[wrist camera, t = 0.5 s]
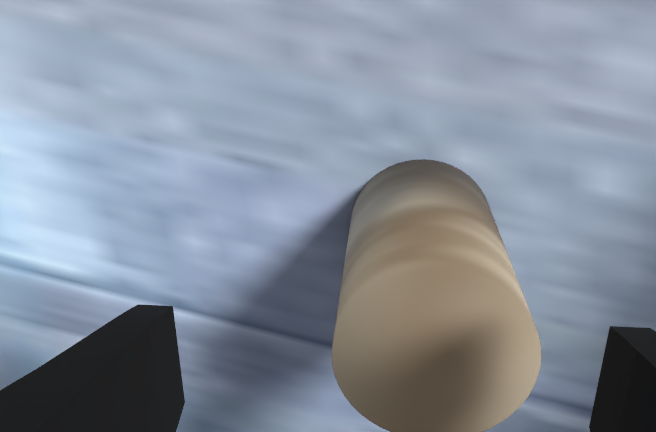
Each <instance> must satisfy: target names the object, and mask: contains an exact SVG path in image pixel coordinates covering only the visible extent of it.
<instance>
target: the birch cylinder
mask: <svg viewBox="0 0 656 432" xmlns="http://www.w3.org/2000/svg"><path fill="white" fill-rule="evenodd" d="M332 365H333V370H334V374H335V377H336V380H337V382H338V385H339V387H340V389H341V391H342V392H343V394H344V396H345V397H346V398H347V400H348V401H349V402H350V404H351V405H352V406H353V407H354V408H355V409H356V410H357V411H358V412H359V413H360V414H362V415H363V416H364V417H365V418H367V419H368V420H369V421H371V422H373V423H374V424H376V425H378V426H379V427H381V428H383V429H386V430H388V431H390V432H483V431H485V430H488V429H490V428H492V427H494V426H495V425H497V424H499V423H501V422H502V421H504V420H505V419H506V418H508V417H509V416H510V415H512V414H513V413H514V412H515V411H516V410H517V409H518V408H519V407H520V406H521V405H522V404H523V402H524V401H525V400H526V399H527V397H528V396H529V394H530V392H531V391H532V389H533V387H534V385H535V382H536V380H537V378H538V374H539V370H540V365H541V344H540V340H539V336H538V332H537V329H536V327H535V324H534V321H533V319H532V316H531V314H530V311H529V308H528V306H527V303H526V301H525V298H524V296H523V293H522V290H521V288H520V285H519V283H518V280H517V277H516V275H515V272H514V270H513V267H512V264H511V262H510V259H509V257H508V254H507V251H506V249H505V246H504V244H503V241H502V238H501V236H500V233H499V231H498V228H497V225H496V223H495V220H494V218H493V215H492V212H491V210H490V207H489V205H488V202H487V200H486V197H485V195H484V194H483V192H482V190H481V189H480V187H479V186H478V185H477V184H476V182H475V181H474V180H473V179H472V178H470V177H469V176H468V175H467V174H466V173H464V172H463V171H461V170H460V169H458V168H456V167H454V166H452V165H449V164H446V163H443V162H439V161H434V160H411V161H405V162H401V163H398V164H395V165H393V166H390V167H388V168H386V169H385V170H383V171H381V172H379V173H378V174H377V175H376V176H374V177H373V178H372V179H371V180H370V181H369V182H368V183H367V184H366V185H365V186H364V188H363V189H362V190H361V192H360V194H359V195H358V197H357V199H356V201H355V204H354V207H353V211H352V215H351V222H350V229H349V236H348V242H347V249H346V256H345V263H344V270H343V276H342V283H341V290H340V297H339V304H338V311H337V317H336V324H335V331H334V338H333V346H332Z"/></svg>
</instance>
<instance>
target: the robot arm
mask: <svg viewBox="0 0 656 432" xmlns="http://www.w3.org/2000/svg"><path fill="white" fill-rule="evenodd" d="M184 403H185V400H184V392H183V385H182V377H181V369H180V361H179V353H178V345H177V337H176V329H175V321H174V313H173V306H156V305H137V306H135V307H133V308H131V309H130V310H128V311H126V312H124V313H123V314H121V315H120V316H118V317H116V318H115V319H113V320H112V321H110V322H108V323H107V324H105V325H104V326H102V327H101V328H99V329H98V330H96V331H95V332H93V333H92V334H90V335H89V336H87V337H86V338H84V339H82V340H81V341H79V342H78V343H76V344H75V345H73V346H72V347H70V348H69V349H67V350H65V351H64V352H62V353H61V354H59V355H58V356H56V357H55V358H53V359H52V360H50V361H48V362H47V363H45V364H44V365H42V366H41V367H39V368H37V369H36V370H34V371H32V372H31V373H29V374H27V375H26V376H24V377H22V378H21V379H19V380H17V381H16V382H14V383H12V384H10V385H9V386H7V387H5V388H4V389H2V390H0V432H176V429H177V426H178V423H179V420H180V416H181V413H182V410H183V406H184ZM589 428H590V432H656V332H655V331H654V330H652V329H650V328H634V327H613V326H610V329H609V334H608V339H607V344H606V348H605V353H604V358H603V363H602V368H601V373H600V377H599V382H598V387H597V392H596V397H595V402H594V406H593V411H592V416H591V421H590V426H589Z"/></svg>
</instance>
